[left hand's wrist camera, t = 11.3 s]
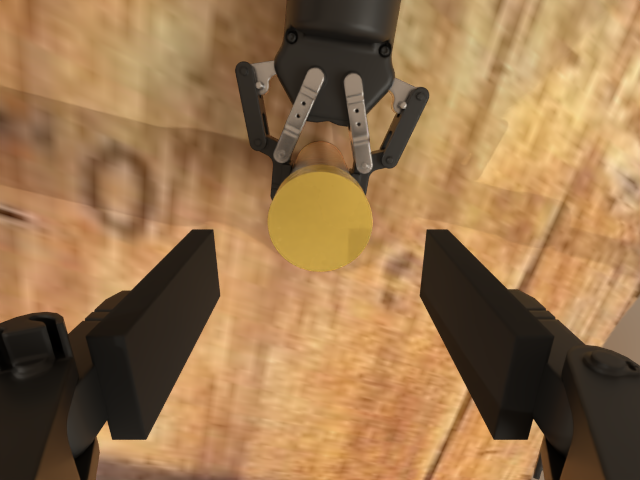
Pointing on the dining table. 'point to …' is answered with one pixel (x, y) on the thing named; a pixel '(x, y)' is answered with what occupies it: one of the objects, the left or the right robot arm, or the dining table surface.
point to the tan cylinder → (320, 156)
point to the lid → (320, 218)
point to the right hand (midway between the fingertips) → (316, 211)
